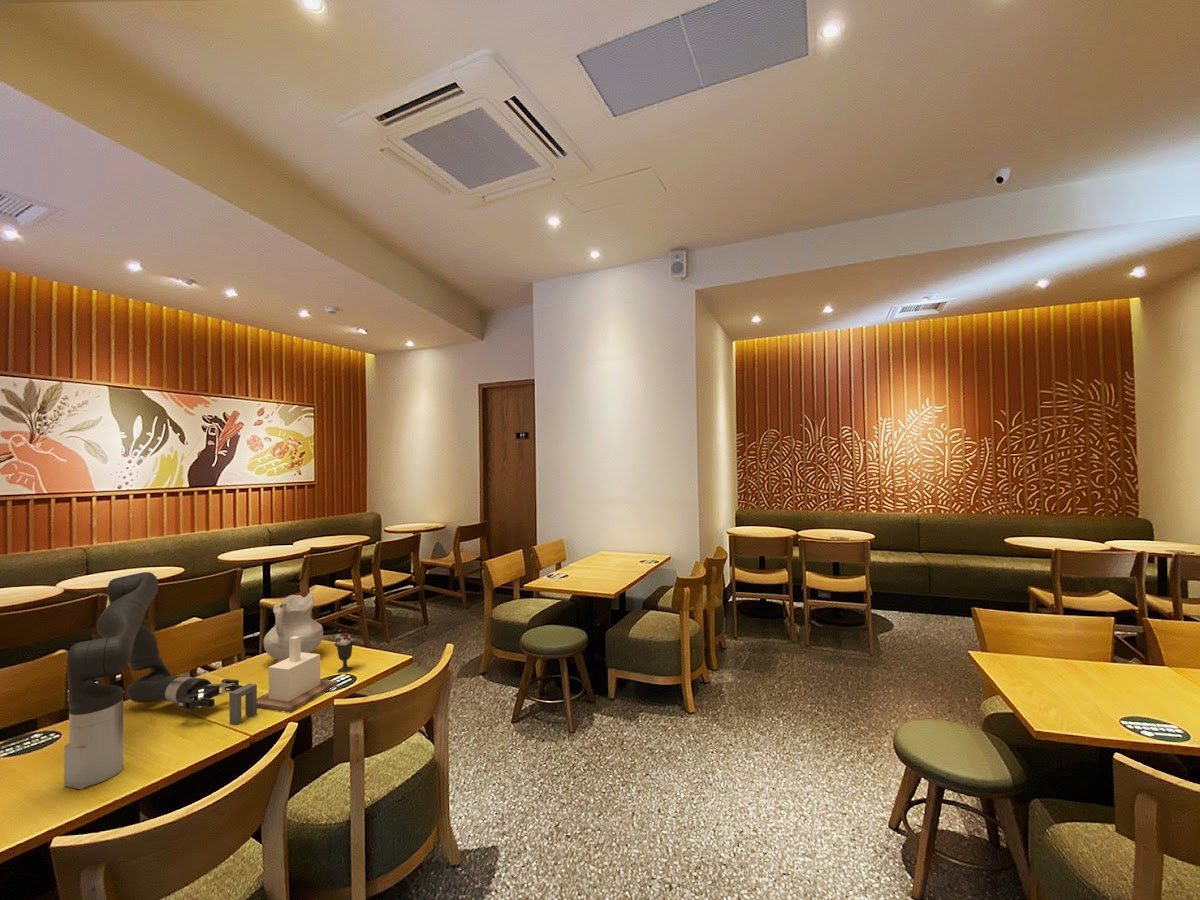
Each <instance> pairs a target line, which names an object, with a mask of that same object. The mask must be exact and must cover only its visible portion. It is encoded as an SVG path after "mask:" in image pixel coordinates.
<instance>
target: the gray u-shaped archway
mask: <svg viewBox="0 0 1200 900" xmlns="http://www.w3.org/2000/svg"><path fill="white" fill-rule="evenodd" d="M257 685H258V684H256V683H247V684H245V685H242V686H243V687H241V688H238V689H236V690H234V691H232V692H230V693H229V697H228V699H229V702H228V703H229V705H228V706H229V711H228V713H229V724H230V725H236V726H238V725H240V724H242V697H245V699H244V701H245V711H244V712H245V716H249V717H255V716H257V715H258V708H257V698H258V697H257V696H258V694H257V693H258V691H257V689H258V688H257V687H258V686H257Z"/></svg>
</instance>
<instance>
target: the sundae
mask: <svg viewBox="0 0 1200 900" xmlns="http://www.w3.org/2000/svg"><path fill="white" fill-rule="evenodd" d="M347 631H348V630H347V629H346V630H345V632H344V633H343V634H342V635H341V636H340V638H339V640H338V641H335V643H334V644H333V645H334V647H336V649H337V656H338V659H339V660H340V661H341V662H342V667H340V668H339V669H337V671H338V672H337V673H339V672H345V673H348V672H347V671H349V672H351V671H352V670H353V669H354V667H353V666H348V659H350V658H351V656H352V653H353V652H352V650H353V645H354V643H355V642H356V640H355V639H354V638H352V637H351V635H350V634H349V633H348V632H347ZM350 670H351V671H350Z"/></svg>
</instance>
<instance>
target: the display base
mask: <svg viewBox="0 0 1200 900" xmlns="http://www.w3.org/2000/svg"><path fill="white" fill-rule="evenodd" d="M335 685H337V686H338V681H336V680H330V679H329V680H328V679H321V678H320V685H318V686H316V687H314V688H312V689H311V690H309V691H307V692H305V693H303V694H302V695H300V696H298V697H296V698H294V699H293V700H291V701H289V702H288V701H281V700H274V699H269V692H267V693H265V694H263V695H261V696H259V697H257V709H261V708H262V710H268V711H274V710H278V711H277V712H281V711H285V712H284V713H288V712H290V713H289V714H291V713H293V712H295V711H297V710H298V709H300V708H302V707H303V706H305V705H307V704H308V703H311V702H312V701H313V699H314V700H315V699H317V698H318V696H319V697H321V696H322V695H324V694H325V693H324V692H326V691H327V690H329V689H330V688H332V687H334V686H335ZM334 688H335V687H334ZM332 689H333V688H332ZM329 691H330V690H329ZM327 692H328V691H327ZM327 692H326V693H327ZM323 693H324V694H323ZM321 694H322V695H321ZM316 697H317V698H316ZM294 710H295V711H294Z"/></svg>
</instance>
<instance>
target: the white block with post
mask: <svg viewBox="0 0 1200 900" xmlns="http://www.w3.org/2000/svg"><path fill="white" fill-rule="evenodd" d="M320 679H321V654H319V653H313V652H311V653H304V652H301V646H300V637H299V636H294V637H291V638H289V658H287V659H285V660H283V661H281V662H279V663H275V664H272V665H270V666H268V693H269V699H274V700H281V701H288V702H289V701H291V700H293V699H294V698H296V697H298V696H300V695H302V694H303V693H305V692H307V691H309V690H311V689H312V688H314V687H316V686H318V685H320Z"/></svg>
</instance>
